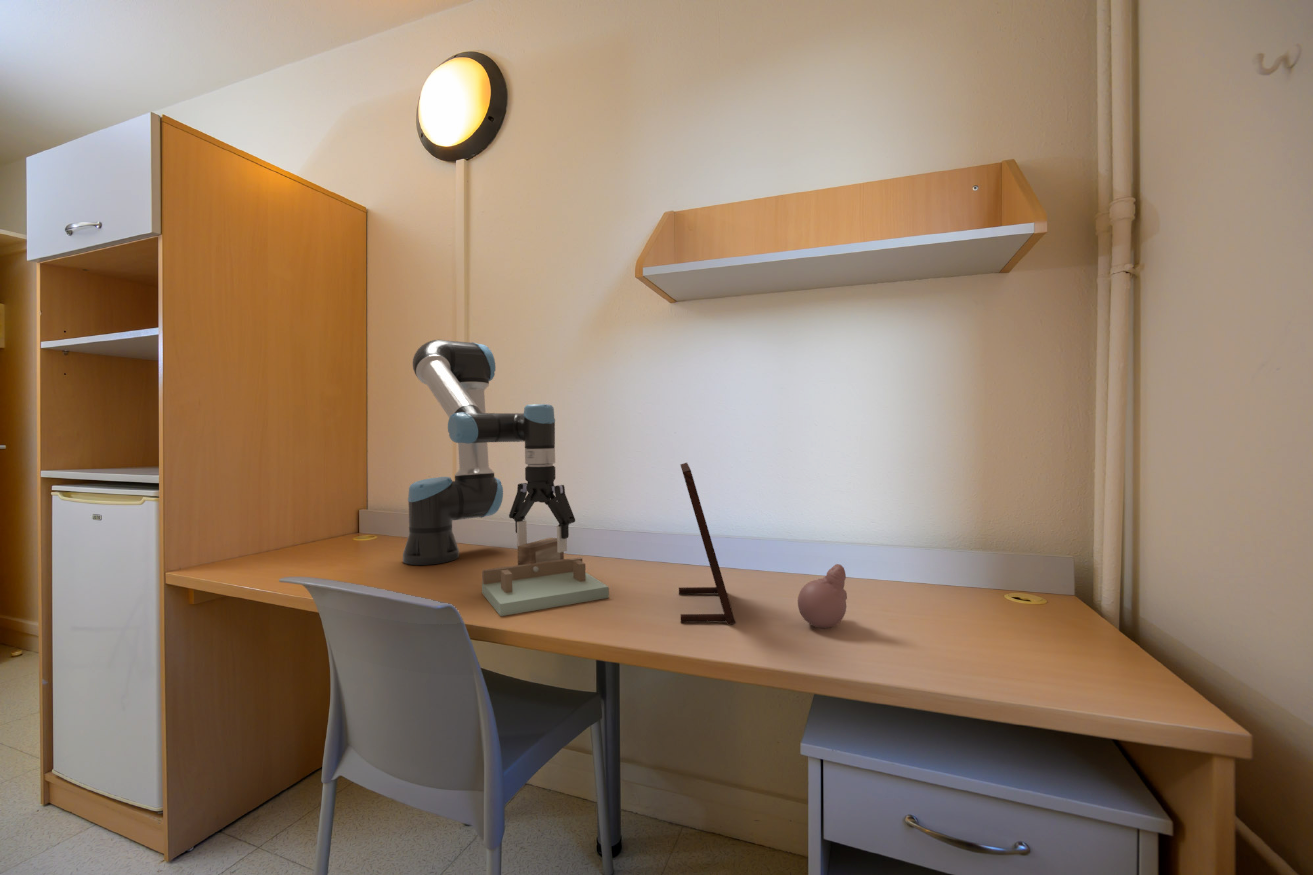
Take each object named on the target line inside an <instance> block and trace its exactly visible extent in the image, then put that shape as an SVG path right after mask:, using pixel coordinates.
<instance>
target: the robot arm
mask: <svg viewBox="0 0 1313 875" xmlns="http://www.w3.org/2000/svg"><path fill="white" fill-rule="evenodd" d="M413 355H414V356H413V358H412V370H413V372H414V375H415V376H416V377H417V379H418V380H419V382H421V383H422V384H424V385H426V386H427V387H428V389H429V390H430V392H431V393H432V394H433V395H432V396H434V398H435V399H436V400H437V402H438V403H439V405H440V406H441V408H442V410H443V411H444V412H445V414H446V416H447V417H448V422H447V432H448V437H449V439H450V440H451V441H452V442H454V443H457V446H458V447H457V448H458V449H457V450H458V464H459V469H458V470H457V472H456V473H455V474H454V480H452V478H451V477H450V476H440V477H439V476H438V477H430V478H425V479H421V480H417V481H413V482H412V483H411V484H410V485H409V487H408V497H407V502H408V536H407V541H406V544H405V546H404V550H403V552H402V563H403V564H406V565H411V566H428V565H431V566H432V565H438V564H439V565H440V564H444V563H445V564H446V563H448V562H453V561H455V560H457V559H459V557H460V549H459V546H458V543H457V541H456V538H455V536H454V533H453V521H459V520H466V519H467V520H468V519H475V518H477V519H478V518H485V517H489V516H490V517H491V516H493V515H495V514H496V513H498V511H499V509H500V508H501V506H502V503H503V499H504V487H503V485H502V482H501V480H500V478H497V477H495V472H494V471H493V470H492V469H491V468H490V467H489V466H490V465H489V464H490V462H489V451H488V450H489V448H488V443H520V442H521V443H523V442H524V464H525V465H527V466H525V468H524V478H525V481H526V482H523V483H522V482H521V483H518V484H517V490H516V494H515V497H514V500H513V503H512V505H511V509H510V512H509V514H508V518H510V519H513V520H514V521H515V522H514V523H515V527H514V528H515V534H516V539H517V540H516V542H517V543H516V546H517V548H518V546H520V545H524V544H528V542H527V541H528V539H527V538H528V536H527V534H528V533H527V529H528V528H527V520H526V517H527V515H528V513H529V512H530V510H531V509H532V507H533V505H534V503H544V504H545V505H547V508H549V510H550V511H551V513H552V515H553V516H554V517H555V520H556V521H557V522H558V525H557V526H556V532H557V533H556V538H557V552H558V553H560V552H567V551H568V539H569V535H570V533H569V526H570V524H572V523H575V522H576V518H575V515H574V513H573V510H572V507H571V506H570V503H569V501H568V498H567V495H566V490H565V485H564V484H558V485H555V480H556V466H555V463H556V447H555V446H556V418H555V409H554V406H553V405H552V404H545V403H543V404H541V403H540V404H539V403H536V404H526V405H525V406H524V410H523V412H522V413H521V412H519V413H518V412H515V413H513V412H512V413H509V412H506V413H505V412H504V413H502V412H501V413H500V412H499V413H497V412H496V413H495V412H491V413H490V412H488V413H487V412H486V399H485V397H486V396H485V390H486V389H487V388H488V387H489V386H490V381H492V380H493V379H494V377H495V374H496V373H495V372H496V362H495V357H494V356H495V355H494V353H493V352H492V350H491V349H490V348H489V347H488V346H487V345H486V344H481V343H477V342H469V341H456V340H455V341H454V340H445V339H433V340H430V341H427V342H425V343H424V344H422V345H420V346H419V348H418V349H417V350H416V352H415V353H414V354H413Z"/></svg>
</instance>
